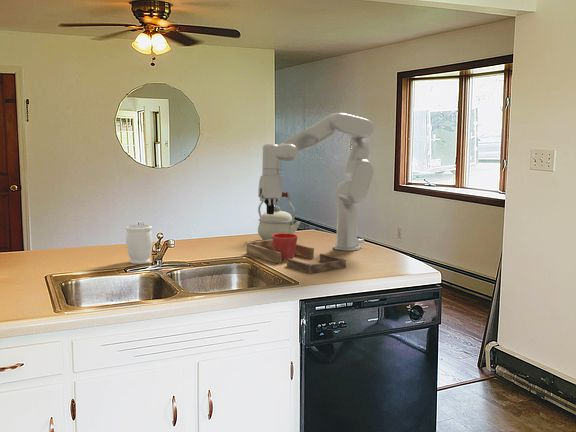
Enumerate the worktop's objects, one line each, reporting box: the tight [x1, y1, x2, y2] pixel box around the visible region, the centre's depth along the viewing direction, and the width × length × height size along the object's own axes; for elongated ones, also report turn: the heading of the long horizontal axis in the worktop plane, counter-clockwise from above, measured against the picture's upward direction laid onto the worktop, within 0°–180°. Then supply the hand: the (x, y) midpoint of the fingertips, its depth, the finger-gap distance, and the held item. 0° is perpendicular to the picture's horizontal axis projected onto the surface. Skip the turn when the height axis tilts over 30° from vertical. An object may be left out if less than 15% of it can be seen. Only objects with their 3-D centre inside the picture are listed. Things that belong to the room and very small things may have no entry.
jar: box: [125, 224, 154, 265], centre depth 243 cm, size 11×10×15 cm
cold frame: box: [245, 239, 315, 264], centre depth 259 cm, size 18×25×5 cm
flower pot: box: [272, 233, 298, 260], centre depth 255 cm, size 11×11×10 cm
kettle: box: [257, 191, 301, 241], centre depth 292 cm, size 25×18×25 cm
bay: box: [286, 253, 347, 274], centre depth 239 cm, size 18×15×3 cm
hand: (270, 213), depth 262 cm, fingers closed
